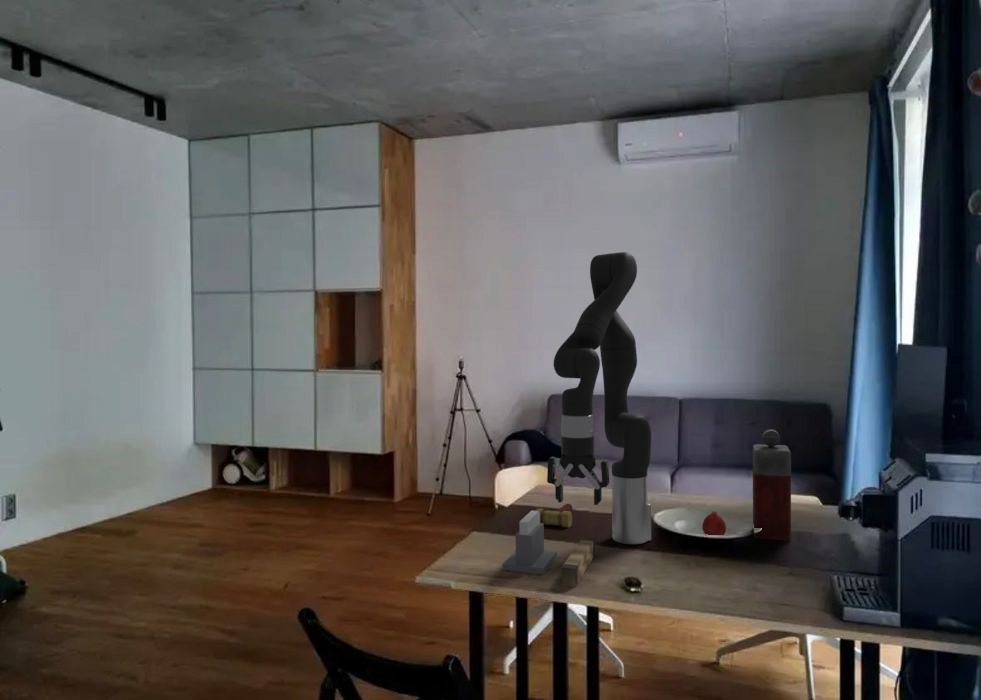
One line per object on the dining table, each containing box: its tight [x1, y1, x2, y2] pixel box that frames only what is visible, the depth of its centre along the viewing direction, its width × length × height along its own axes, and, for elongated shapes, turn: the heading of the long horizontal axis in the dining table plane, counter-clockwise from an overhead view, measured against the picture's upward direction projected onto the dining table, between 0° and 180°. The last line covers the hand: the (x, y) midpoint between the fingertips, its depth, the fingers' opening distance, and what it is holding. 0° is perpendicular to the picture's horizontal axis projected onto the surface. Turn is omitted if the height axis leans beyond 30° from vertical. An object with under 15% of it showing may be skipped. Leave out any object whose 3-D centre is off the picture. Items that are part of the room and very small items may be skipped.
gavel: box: [535, 503, 573, 529], centre depth 203 cm, size 21×5×10 cm
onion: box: [702, 510, 727, 536], centre depth 178 cm, size 6×6×8 cm
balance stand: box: [502, 510, 558, 576], centre depth 164 cm, size 10×12×12 cm
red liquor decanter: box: [752, 429, 792, 542], centre depth 184 cm, size 9×11×28 cm
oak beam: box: [560, 536, 596, 588], centre depth 160 cm, size 22×3×4 cm, turn 160°
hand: (578, 502), depth 160 cm, fingers open, 8 cm apart
